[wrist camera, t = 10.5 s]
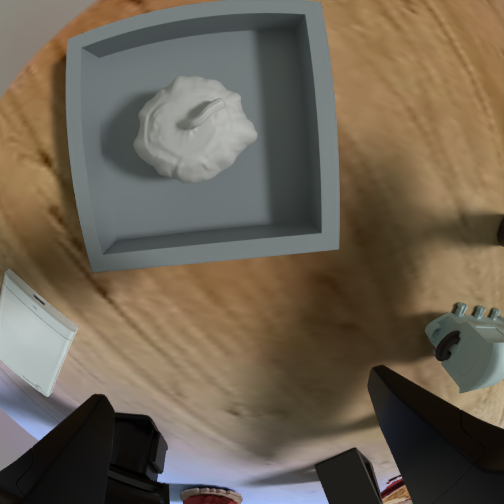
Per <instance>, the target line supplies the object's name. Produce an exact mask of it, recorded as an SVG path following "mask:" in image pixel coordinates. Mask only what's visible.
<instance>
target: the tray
mask: <svg viewBox="0 0 504 504" xmlns="http://www.w3.org/2000/svg"><path fill="white" fill-rule="evenodd" d="M178 76H186V77H191V76H199V77H202V78H204V79H213V80H217V81H219V82H220V83H221V84H222V85H223V86H224V87H225V88H226V89H227V90H229V91H232V92H236V93H238V94H239V95H240V96H241V105H242V109H243V112H244V113H245V115H246V118H247V119H248V120H250V121H251V122H252V123H253V125H254V128H255V131H256V132H257V139H256V141H255V142H254V143H252V144H251V145H249V146H247V147H246V148H245V149H244V150H243V151H242V152H241V153H240V154H239V155H238V156H237V158H236V159H235V161H234V163H233V164H232V165H231V166H230V167H229V168H227V169H225V170H223V171H221V172H220V173H218V174H217V175H216V176H215V177H213V178H212V179H210V180H207V181H201V182H198V183H187V184H186V183H181V182H180V181H179V180H177V179H171V178H168V177H166V176H162V175H160V174H159V173H158V172H157V171H156V169H155V167H154V166H152V165H149V164H148V163H147V162H146V161H144V160H143V159H141V158H140V157H139V155H138V154H137V153H136V151H135V149H134V141H135V139H136V137H137V136H138V132H139V129H140V119H139V117H138V114H139V112H140V110H141V109H143V107H144V105H145V103H146V102H147V101H149V100H150V99H152V98H153V97H154V96H155V95H156V94H157V93H158V92H159V91H160V90H161V89H163V88H166V87H167V86H168V85H169V84H170V83H171V82H172V81H173V80H174V78H176V77H178ZM66 120H67V135H68V147H69V157H70V165H71V173H72V180H73V187H74V193H75V199H76V204H77V210H78V215H79V220H80V225H81V229H82V234H83V238H84V242H85V247H86V251H87V254H88V258H89V262H90V266H91V269H92V273H94V272H106V271H117V270H128V269H139V268H150V267H161V266H172V265H183V264H194V263H205V262H215V261H226V260H236V259H247V258H257V257H267V256H278V255H288V254H298V253H308V252H318V251H328V250H338V249H339V232H340V188H339V155H338V136H337V121H336V108H335V97H334V87H333V78H332V69H331V61H330V53H329V46H328V40H327V33H326V27H325V21H324V15H323V10H322V5H321V2H316V1H305V0H225V1H214V2H205V3H197V4H190V5H184V6H178V7H173V8H167V9H163V10H158V11H153V12H149V13H145V14H141V15H137V16H133V17H130V18H126V19H123V20H120V21H116V22H113V23H110V24H107V25H104V26H101V27H98V28H96V29H93V30H90V31H87V32H85V33H82V34H80V35H77V36H75V37H73V38H70V39H68V43H67V57H66Z"/></svg>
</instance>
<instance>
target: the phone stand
mask: <svg viewBox="0 0 504 504" xmlns="http://www.w3.org/2000/svg"><path fill="white" fill-rule="evenodd" d="M315 469H316V471H317V474H318V476H319V479H320V482H321V484H322V487H323V489H324V492H325V495H326V497H327V500H328V502H329V504H383V500H382V497H381V493H380V490H379V486H378V483H377V479H376V476H375V473H374V469H373V466H372V463H371V462H370V461H369V460H368V459H367V458H366V457H365V456H364V455H363V454H362V453H361V452H360V451H359V450H358V449H357V448H354V449H352V450H350V451H348V452H346V453H343V454H341V455H339V456H337V457H334V458H332V459H329V460H327V461H325V462H322V463H320V464H317V465H315Z"/></svg>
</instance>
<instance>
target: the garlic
mask: <svg viewBox="0 0 504 504" xmlns="http://www.w3.org/2000/svg"><path fill="white" fill-rule="evenodd" d="M138 117H139V119H140V129H139V132H138V136H137V137H136V139H135V141H134V149H135V151H136V153H137V154H138V155H139V157H140V158H141V159H143V160H144V161H146V162H147V163H148V164H149V165H152V166H154V167H155V169H156V171H157V172H158V173H159V174H160V175H162V176H166V177H168V178H171V179H177V180H179V181H180V182H181V183H186V184H187V183H198V182H201V181H207V180H210V179H212V178H213V177H215V176H216V175H217V174H218V173H220V172H221V171H223V170H225V169H227V168H229V167H230V166H231V165H232V164H233V163H234V161H235V159H236V158H237V156H238V155H239V154H240V153H241V152H242V151H243V150H244V149H245V148H246V147H247V146H249V145H251V144H252V143H254V142H255V141H256V139H257V132H256V131H255V128H254V125H253V123H252V122H251V121H250V120H248V119H247V118H246V115H245V113H244V112H243V109H242V105H241V96H240V95H239V94H238V93H236V92H232V91H229V90H227V89H226V88H225V87H224V86H223V85H222V84H221V83H220V82H219V81H217V80H213V79H204V78H202V77H199V76H191V77H186V76H178V77H176V78H174V80H173V81H172V82H171V83H170V84H169V85H168V86H167V87H166V88H163V89H161V90H160V91H159V92H158V93H157V94H156V95H155V96H154V97H153V98H152V99H150V100H149V101H147V102H146V103H145V105H144V107H143V109H141V110H140V112H139V114H138Z"/></svg>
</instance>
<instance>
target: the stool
mask: <svg viewBox="0 0 504 504" xmlns="http://www.w3.org/2000/svg"><path fill="white" fill-rule="evenodd" d="M498 238H499V242H500V244H501V245H502V246H503V247H504V220H503V222H502V224H501V227H500V231H499V233H498ZM457 306H458V307H457V309H456V311H455V313H445V314H443V315H442V316H440V317H438V318H436V319H435V320H433V321H431V322H430V323H428V325H427V326H426V328H425V333H426V334H427V336H428V338H429V340H430V342H431V343H432V344H433V345H434V346H435V350H433V353H434V355H435V357H436V359H437V360H438V361H442V366H443V367H444V368H445V369H446V371H447V372H448V373H449V374H450V376H451V377H452V378H453V380H454V381H455V382H456V384H457V385H458V386H459V387H460V390H459V393H464V392H468V391H473V390H477V389H481V388H485V387H488V386H492V385H495V384H497V383H498V382H500V381H501V380H502V379H503V378H504V317H503V316H499V317H498V315H499V314H500V310H499V309H497V308H493V310H492V313H491V315H490V317H483V316H482V315H483V313H484V312H485V311H486V309H485V308H484V307H483V306H480V305H478V306H477V310H476V312H475V314H474V315H464V313H465V310H466V309H468V306H467V305H466V304H465V303H461V302H459V303H458V304H457ZM497 317H498V318H497Z"/></svg>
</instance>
